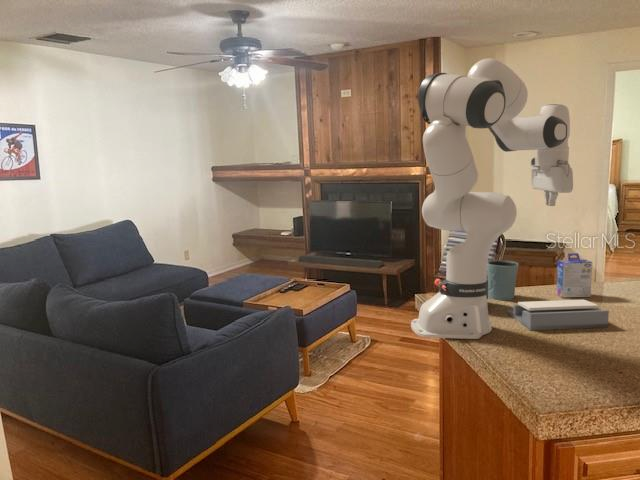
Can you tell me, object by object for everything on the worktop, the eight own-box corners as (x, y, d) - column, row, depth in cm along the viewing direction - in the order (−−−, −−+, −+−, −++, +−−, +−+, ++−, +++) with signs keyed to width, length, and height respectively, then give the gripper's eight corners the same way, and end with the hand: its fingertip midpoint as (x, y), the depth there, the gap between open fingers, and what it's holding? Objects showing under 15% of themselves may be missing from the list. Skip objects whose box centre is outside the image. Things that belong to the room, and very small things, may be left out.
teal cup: (480, 294, 179) (481, 261, 177) (504, 291, 182) (505, 258, 180) (498, 302, 169) (499, 267, 167) (523, 298, 172) (525, 264, 170)
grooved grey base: (530, 330, 142) (530, 313, 141) (507, 312, 158) (508, 298, 157) (607, 327, 142) (609, 310, 141) (577, 310, 158) (578, 295, 157)
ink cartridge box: (583, 293, 177) (585, 252, 174) (591, 297, 171) (594, 255, 169) (555, 293, 177) (557, 253, 175) (562, 298, 171) (564, 256, 169)
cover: (529, 310, 144) (529, 307, 144) (517, 304, 152) (517, 302, 152) (598, 308, 145) (598, 305, 145) (583, 302, 153) (583, 299, 153)
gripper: (580, 160, 143) (577, 208, 145) (547, 159, 163) (545, 202, 166) (558, 160, 143) (556, 209, 145) (528, 160, 163) (526, 202, 166)
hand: (550, 205), depth 156 cm, fingers closed
